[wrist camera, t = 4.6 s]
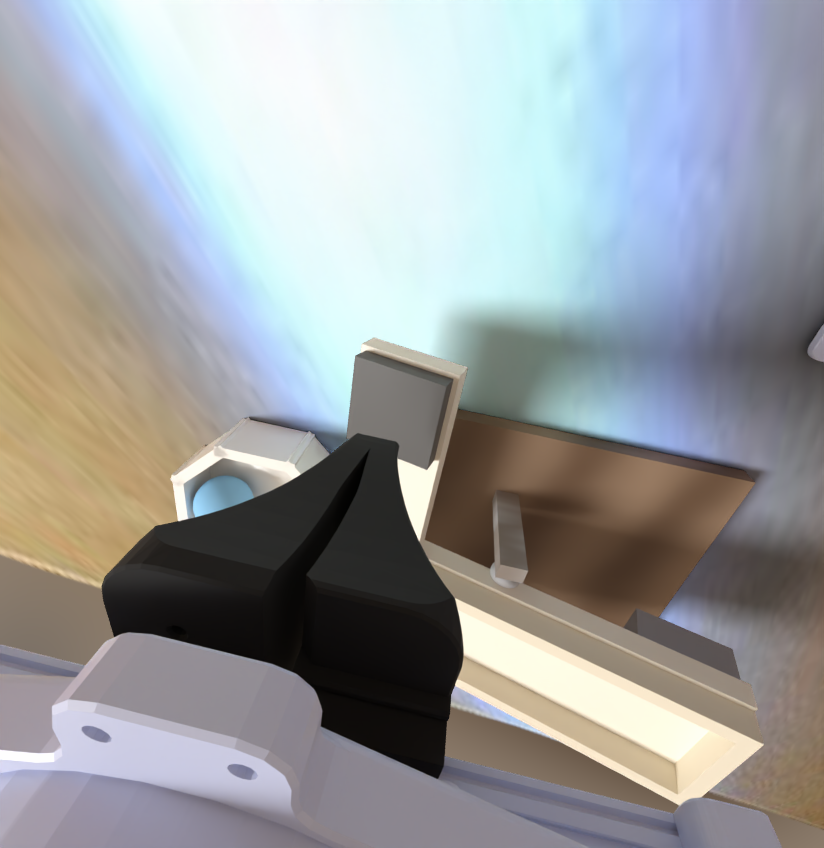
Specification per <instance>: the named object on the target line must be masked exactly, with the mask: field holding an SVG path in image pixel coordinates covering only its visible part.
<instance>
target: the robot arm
mask: <svg viewBox="0 0 824 848" xmlns="http://www.w3.org/2000/svg"><path fill="white" fill-rule="evenodd" d="M808 355H809V356H810V357H811V358H813V359H815V360H818V361H821V362H824V324H823V325H822V327H821V328H820V330H819V331H818V333H817V334H816V336H815V337H814V339H813V340H812V342H811V343H810V345H809V347H808ZM398 451H399V444H398V443H397V442H396V441H391V440H387V439H382V438H378V437H373V436H369V435H364V434H360V433H357V434H355V435H354V436H352V437H351V438H350V439H349V440H348V441H346V442H345V443H344V444H343V445H341V446H340V447H339V448H338V449H336V450H335V451H334V452H333V453H331V454H330V455H328V456H327V457H326V458H324V459H323V460H322V461H320V462H319V463H317V464H316V465H315V466H313V467H311V468H310V469H308V470H307V471H305V472H304V473H302V474H301V475H299V476H297V477H296V478H294V479H292V480H291V481H289V482H287V483H285V484H283V485H281V486H279V487H277V488H275V489H273V490H271V491H269V492H267V493H265V494H262V495H260V496H257V497H255V498H252V499H250V500H247V501H245V502H242V503H240V504H237V505H234V506H231V507H228V508H225V509H222V510H219V511H216V512H212V513H209V514H206V515H202V516H198V517H194V518H190V519H185V520H181V521H177V522H172V523H168V524H163V525H158V526H155V527H154V528H153V529H152V530H151V531H150V532H149V533H147V534H146V535H145V536H144V537H143V538H142V539H141V540H140V541H139V542H138V543H137V544H136V545H135V546H134V547H133V548H132V549H131V550H130V551H129V552H128V553H127V554H126V555H125V556H124V557H123V558H122V559H121V560H120V561H119V563H118V564H117V565H116V566H115V567H114V568H113V569H112V570H111V571H110V572H109V573H108V574H107V575H106V576H105V578H104V581H103V584H102V594H103V601H104V605H105V608H106V611H107V615H108V618H109V621H110V625H111V628H112V631H113V635H114V638H112V639H110V640H108V641H106V642H105V643H104V644H103V645H102V646H101V648H100V649H99V650H98V651H97V652H96V654H95V655H94V656H93V657H92V658H91V660H90V661H89V662H88V663H87V664H86V666H84V665H81V664H77V663H73V662H69V661H65V660H60V659H57V658H53V657H49V656H45V655H41V654H37V653H33V652H29V651H25V650H21V649H17V648H13V647H9V646H5V645H1V644H0V848H782V846H781V844H780V842H779V840H778V837H777V835H776V833H775V831H774V829H773V826H772V824H771V822H770V820H769V818H768V816H767V815H766V814H764V813H763V812H761V811H757V810H753V809H749V808H745V807H741V806H737V805H733V804H729V803H725V802H721V801H717V800H713V799H708V798H691V799H688V800H686V801H684V802H683V803H682V804H680V805H679V807H678V808H677V809H676V811H675V812H674V814H673V813H669V812H664V811H661V810H657V809H653V808H648V807H645V806H641V805H637V804H633V803H629V802H625V801H621V800H617V799H613V798H609V797H605V796H601V795H597V794H593V793H589V792H585V791H581V790H577V789H573V788H569V787H565V786H561V785H557V784H553V783H549V782H545V781H542V780H538V779H534V778H530V777H526V776H522V775H518V774H514V773H510V772H505V771H502V770H498V769H494V768H490V767H486V766H482V765H478V764H474V763H470V762H466V761H462V760H458V759H454V758H450V757H446V756H445V743H446V727H447V721H448V719H449V715H450V704H451V694H452V691H453V689H454V686H455V684H456V681H457V679H458V676H459V674H460V671H461V669H462V664H463V658H464V647H463V636H462V629H461V623H460V618H459V613H458V609H457V604H456V600H455V598H454V596H453V595H452V594H451V592H450V591H449V590H448V588H447V587H446V586H445V584H444V583H443V581H442V580H441V578H440V577H439V576H438V574H437V572H436V571H435V569H434V567H433V566H432V564H431V563H430V561H429V559H428V557H427V555H426V553H425V551H424V549H423V548H422V546H421V544H420V542H419V540H418V538H417V535H416V533H415V531H414V528H413V526H412V523H411V521H410V518H409V515H408V512H407V509H406V506H405V502H404V498H403V494H402V490H401V485H400V479H399V473H398Z"/></svg>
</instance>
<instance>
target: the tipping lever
mask: <svg viewBox="0 0 824 848" xmlns="http://www.w3.org/2000/svg"><path fill="white" fill-rule="evenodd" d="M467 370H468V367H465V366H462V365H459V364H456V363H453V362H449V361H446V360H443V359H440V358H437V357H434V356H430V355H427V354H424V353H421V352H418V351H415V350H411V349H408V348H405V347H402V346H399V345H396V344H392V343H389V342H386V341H383V340H380V339H377V338H372V339H371V340H369V341H367V342H365V343H363V344H362V347H361V353H360V354H358V355H356V356H355V363H354V373H353V382H352V391H351V400H350V410H349V419H348V428H347V437H346V438H347V439H350V438H351V437H352V436H354V435H355V434H357V433H360V434H364V435H369V436H373V437H378V438H382V439H387V440H391V441H396V442H397V443H398V444H399V451H398V473H399V479H400V485H401V490H402V494H403V498H404V502H405V506H406V509H407V512H408V515H409V518H410V521H411V523H412V526H413V528H414V531H415V533H416V535H417V538H418V540H419V542H420V544H421V546H422V548H423V549H424V551H425V553H426V555H427V557H428V559H429V561H430V563H431V564H432V566H433V567H434V569H435V571H436V572H437V574H438V576H439V577H440V578H441V580H442V581H443V583H444V584H445V586H446V587H447V588H448V590H449V591H450V592H451V594H452V595H453V596H454V598H455V600H456V604H457V609H458V613H459V618H460V623H461V629H462V636H463V647H464V658H463V664H462V669H461V671H460V674H459V676H458V679H457V681H456V684H455V686H457V687H459V688H460V689H462V690H464V691H466V692H468V693H470V694H472V695H474V696H475V697H477V698H479V699H481V700H483V701H485V702H487V703H489V704H490V705H492V706H494V707H496V708H498V709H500V710H502V711H504V712H505V713H507V714H509V715H511V716H513V717H515V718H517V719H519V720H521V721H522V722H524V723H526V724H528V725H530V726H532V727H534V728H536V729H537V730H539V731H541V732H543V733H545V734H547V735H549V736H551V737H552V738H554V739H556V740H558V741H560V742H562V743H564V744H566V745H567V746H569V747H571V748H573V749H575V750H577V751H579V752H581V753H583V754H584V755H587V756H588V757H590V758H592V759H594V760H596V761H598V762H599V763H601V764H603V765H605V766H607V767H609V768H611V769H613V770H615V771H616V772H618V773H620V774H622V775H624V776H626V777H627V778H629V779H631V780H633V781H635V782H637V783H639V784H641V785H642V786H645V787H646V788H648V789H650V790H652V791H654V792H656V793H657V794H659V795H661V796H663V797H665V798H667V799H669V800H671V801H672V802H674V803H676V804H678V805H680V804H682V803H683V802H684V801H686V800H688V799H691V798H701V797H702V796H703V795H704V794H705V793H707V792H708V791H709V790H710V789H711V788H713V787H714V786H715V785H716V784H717V783H719V782H720V781H721V780H722V779H723V778H725V777H726V776H727V775H728V774H729V773H731V772H732V771H733V770H734V769H735V768H737V767H738V766H739V765H740V764H741V763H743V762H744V761H745V760H746V759H747V758H749V757H750V756H751V755H752V754H753V753H755V752H756V751H757V750H758V749H760V748H761V747H762V746H763V745H764V742H763V739H762V735H761V732H760V728H759V725H758V721H757V718H756V714H755V711H756V710H757V709H758V708H757V704H756V701H755V697H754V694H753V690H752V687H751V684H748V683H746V682H744V681H742V680H741V679H740V676H739V672H738V668H737V665H736V661H735V657H734V654H733V650H732V649H731V648H728V647H726V646H724V645H721V644H719V643H717V642H714V641H712V640H710V639H707V638H705V637H703V636H700V635H698V634H696V633H693V632H691V631H689V630H686V629H684V628H682V627H679V626H677V625H675V624H672V623H670V622H668V621H665V620H663V619H661V618H658V617H656V616H654V615H651V614H649V613H647V612H644V611H642V610H640V609H637V608H636V610H635V611H634V613H633V614H632V616H631V617H630V618H629V620H628V621H627V623H626V624H625V626H624V627H623V628H622V627H620V626H618V625H615V624H613V623H611V622H609V621H606V620H604V619H602V618H600V617H597V616H595V615H593V614H591V613H588V612H586V611H584V610H582V609H579V608H577V607H575V606H573V605H570V604H568V603H566V602H564V601H561V600H559V599H557V598H555V597H552V596H550V595H548V594H546V593H543V592H541V591H539V590H537V589H534V588H532V587H530V586H528V585H525V584H523V583H518V582H514V581H510V580H505V579H501V578H497V577H495V562H494V563H493V564H492V566H491V568H490V569H489V568H487V567H485V566H483V565H480V564H478V563H476V562H474V561H471V560H469V559H467V558H465V557H462V556H460V555H458V554H456V553H453V552H451V551H449V550H447V549H444V548H442V547H440V546H438V545H435V544H433V543H431V542H429V541H426V540H425V536H426V532H427V528H428V524H429V520H430V516H431V512H432V508H433V505H434V501H435V497H436V493H437V489H438V485H439V481H440V477H441V473H442V469H443V465H444V461H445V457H446V453H447V449H448V445H449V441H450V437H451V433H452V429H453V425H454V421H455V417H456V413H457V409H458V406H459V402H460V398H461V394H462V390H463V386H464V382H465V378H466V374H467Z"/></svg>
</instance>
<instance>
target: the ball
mask: <svg viewBox="0 0 824 848" xmlns="http://www.w3.org/2000/svg"><path fill="white" fill-rule="evenodd" d="M252 498H254V496H253V493H252V491H251V489H250V487H249V486H248V485H247V484H246V483H245V482H244V481H243V480H241V479H239V478H237V477H234V476H227V475H225V476H218V477H214V478H212V479H210V480H208V481H207V482H205V483H204V484H203V485H202V486H201V487H200V488H199V489H198V491H197V493H196V494H195V497H194V501H193V511H194V515H195V517H198V516H202V515H206V514H209V513H212V512H216V511H219V510H222V509H225V508H228V507H231V506H234V505H237V504H240V503H242V502H245V501H247V500H250V499H252Z"/></svg>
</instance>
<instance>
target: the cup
mask: <svg viewBox="0 0 824 848" xmlns="http://www.w3.org/2000/svg"><path fill="white" fill-rule="evenodd" d="M328 455H330V454H329V453H328V451H327V450H326V449H325V448H324V447H323V446H322V445H321V443H320V442H319V441H318V440H317V439H316V438H315V434H312V433H311V432H310V431H308V432H303V431H299V430H294V429H290V428H285V427H281V426H276V425H272V424H267V423H263V422H258V421H253V420H250V419H249V417H248V418H247V419H244V418H242V419H241V420H240V421H239V422H238V423H237V424H236V425H235V426H234V427H233V428H232V429H231V430H229V431H228V432H226V433H225V434H223V435H222V436H220V437H219V438H218V439H216V440H215V441H213V442H212V443H210V444H209V445H207V446H204V445H203V446H202V447H201V448H200V449H199V450H198V451H197V452H196V453H195V454H194V455H193V456H191V457H190V458H189V459H188V460H187V461H186V462H185V463H184V464H183V465H182V466H181V467H180V468H179V469H177V470H176V471H175V472H174V473H173V474H172V478H171V479H170V480H171V481H172V482H173V488H174V495H175V502H176V509H177V516H178V521H181V520H185V519H190V518H194V517H195V515H194V511H193V501H194V497H195V494H196V493H197V491H198V489H199V488H200V487H201V486H202V485H203V484H204V483H205V482H207V481H208V480H210V479H212V478H214V477H218V476H225V475H227V476H234V477H237V478H239V479H241V480H243V481H244V482H245V483H246V484H247V485H248V486H249V487H250V489H251V491H252V493H253V496H254V498H255V497H257V496H260V495H262V494H265V493H267V492H269V491H271V490H273V489H275V488H277V487H279V486H281V485H283V484H285V483H287V482H289V481H291V480H292V479H294V478H296V477H297V476H299V475H301V474H302V473H304V472H305V471H307V470H308V469H310V468H311V467H313V466H315V465H316V464H317V463H319V462H320V461H322V460H323V459H324V458H326V457H327V456H328Z"/></svg>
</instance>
